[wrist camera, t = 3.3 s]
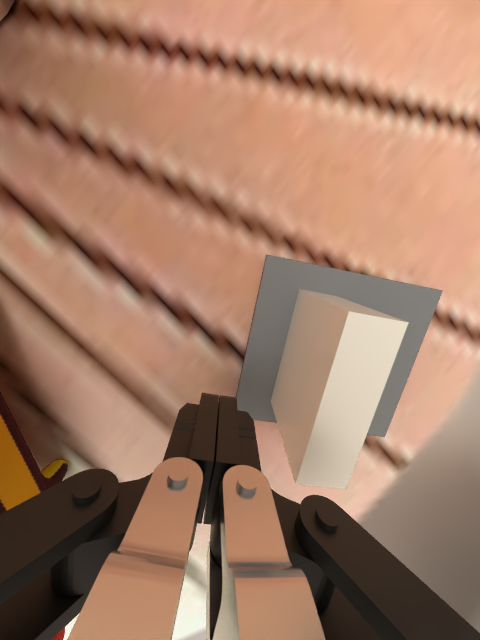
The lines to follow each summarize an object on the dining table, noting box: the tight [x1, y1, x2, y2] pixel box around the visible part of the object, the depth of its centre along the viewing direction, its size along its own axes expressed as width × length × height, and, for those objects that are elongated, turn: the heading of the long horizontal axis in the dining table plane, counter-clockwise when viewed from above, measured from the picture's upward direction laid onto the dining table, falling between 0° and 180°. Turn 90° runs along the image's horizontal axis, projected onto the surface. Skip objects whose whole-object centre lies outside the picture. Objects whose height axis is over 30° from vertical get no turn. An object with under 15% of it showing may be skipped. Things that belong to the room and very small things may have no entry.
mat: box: [236, 255, 442, 437], centre depth 21 cm, size 14×14×1 cm
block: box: [271, 289, 409, 489], centre depth 16 cm, size 3×10×8 cm, turn 169°
